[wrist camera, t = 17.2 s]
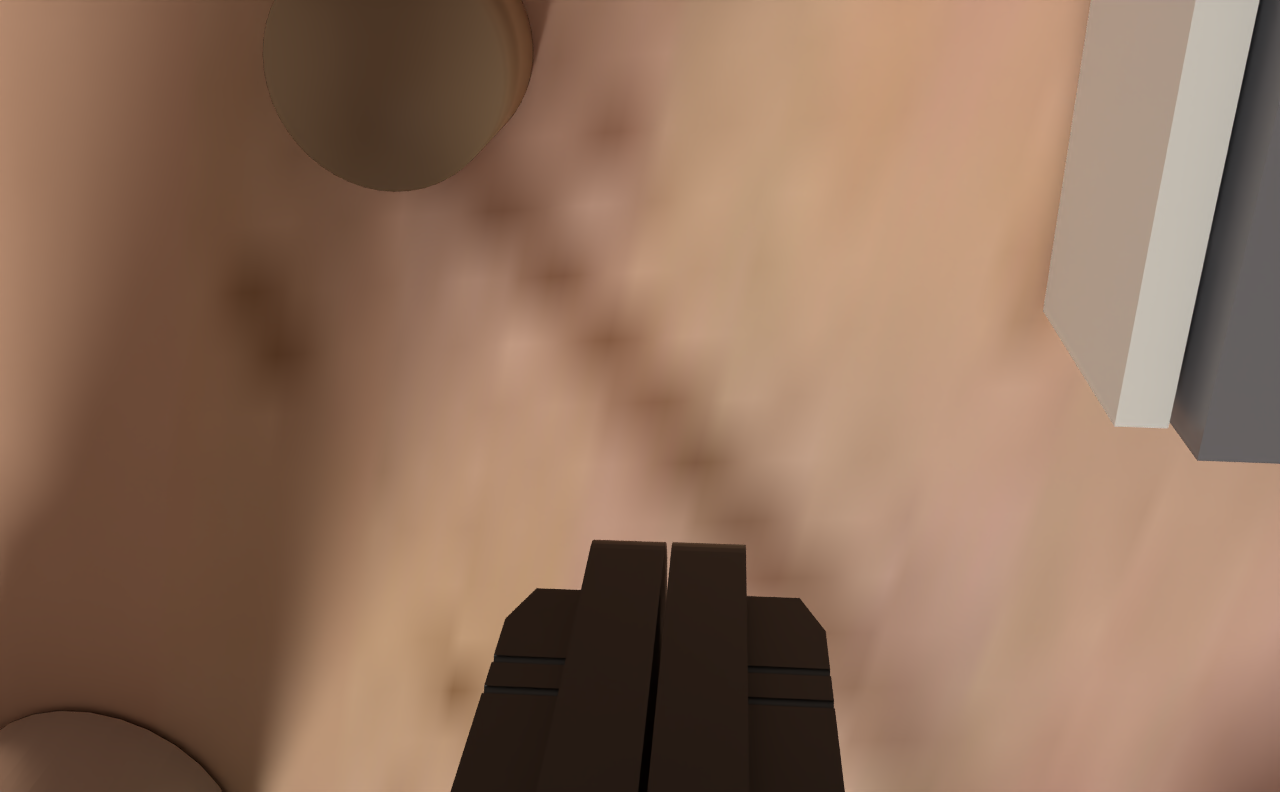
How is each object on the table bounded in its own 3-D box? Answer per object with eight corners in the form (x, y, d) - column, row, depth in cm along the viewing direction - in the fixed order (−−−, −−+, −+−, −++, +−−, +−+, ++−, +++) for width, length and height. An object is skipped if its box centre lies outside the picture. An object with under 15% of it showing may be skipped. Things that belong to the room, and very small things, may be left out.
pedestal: (334, 151, 28) (280, 189, 25) (308, -70, 26) (245, -60, 23) (537, 154, 28) (509, 194, 24) (528, -71, 25) (494, -60, 22)
